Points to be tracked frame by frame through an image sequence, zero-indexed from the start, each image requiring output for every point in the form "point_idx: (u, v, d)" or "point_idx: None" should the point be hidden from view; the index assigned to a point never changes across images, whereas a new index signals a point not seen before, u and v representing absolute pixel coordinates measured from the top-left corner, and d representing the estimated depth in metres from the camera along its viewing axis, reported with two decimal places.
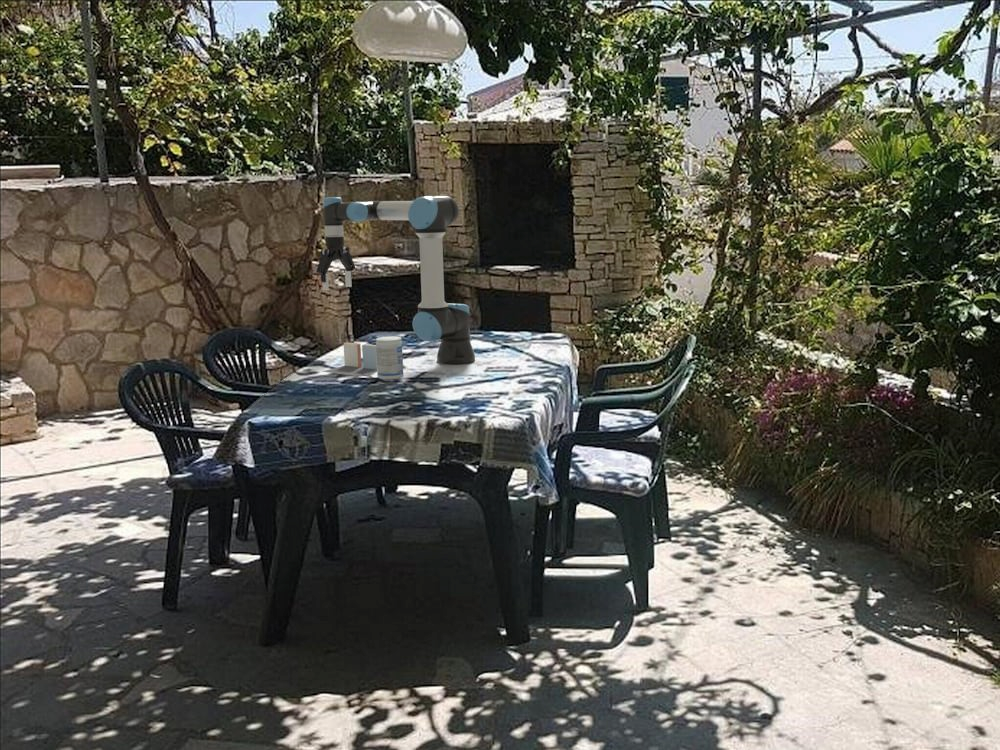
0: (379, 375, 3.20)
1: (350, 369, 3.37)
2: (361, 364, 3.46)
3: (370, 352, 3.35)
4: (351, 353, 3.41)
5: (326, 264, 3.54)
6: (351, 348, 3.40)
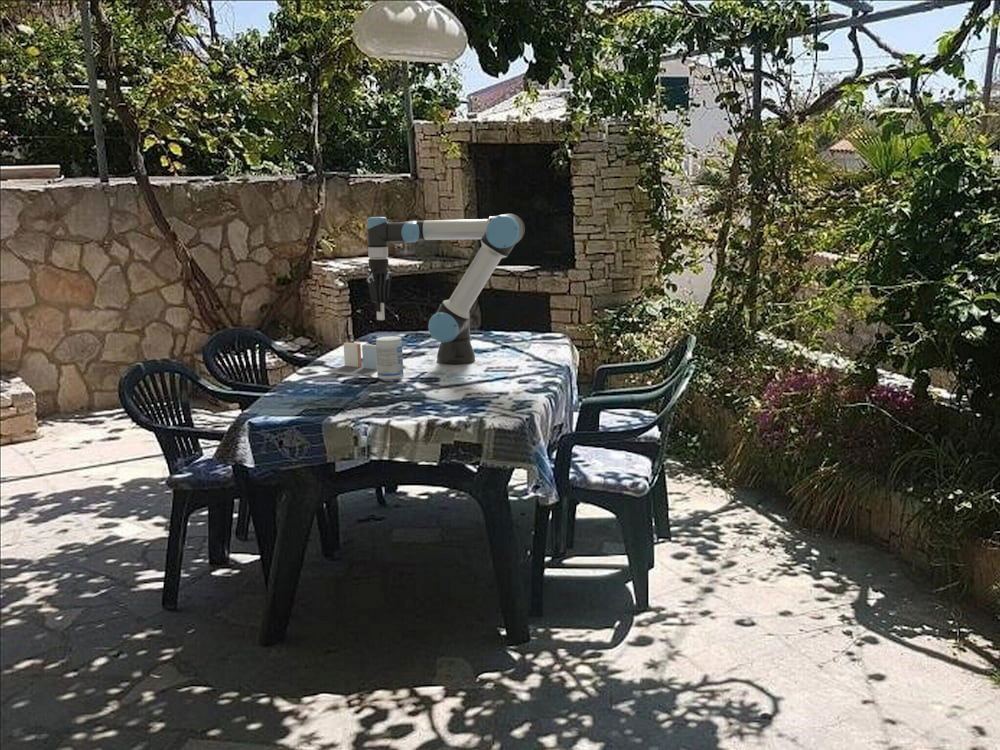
0: (379, 375, 3.20)
1: (350, 369, 3.37)
2: (361, 364, 3.46)
3: (370, 352, 3.35)
4: (351, 353, 3.41)
5: (377, 292, 3.36)
6: (351, 348, 3.40)
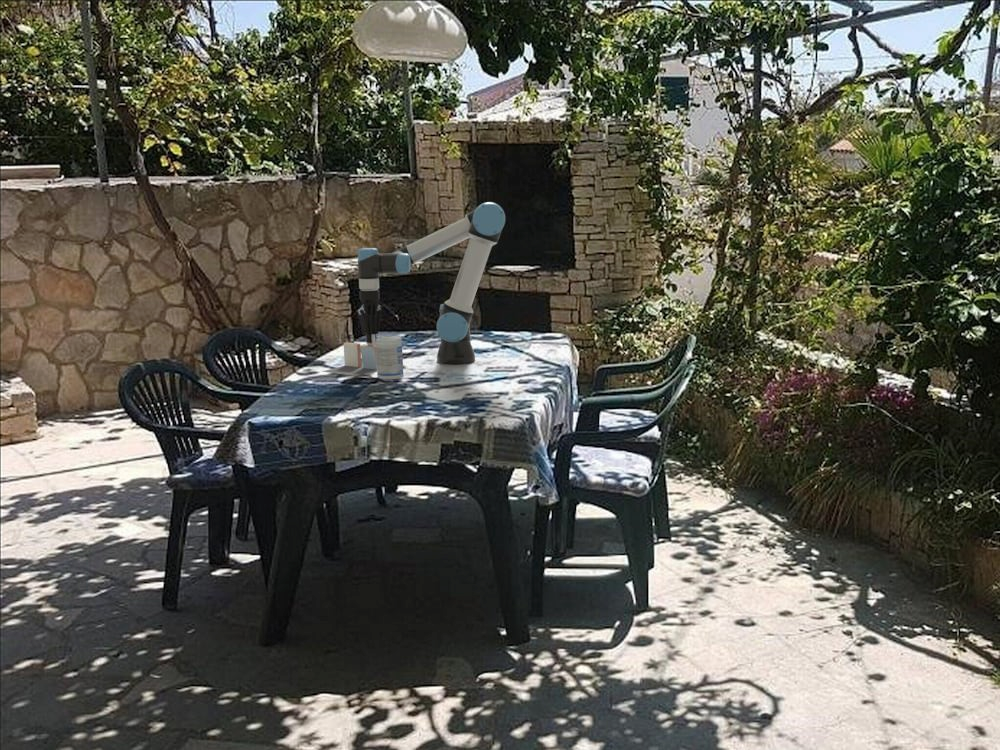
0: (379, 375, 3.20)
1: (350, 369, 3.37)
2: (361, 364, 3.46)
3: (369, 353, 3.34)
4: (351, 353, 3.41)
5: (368, 323, 3.33)
6: (351, 348, 3.40)
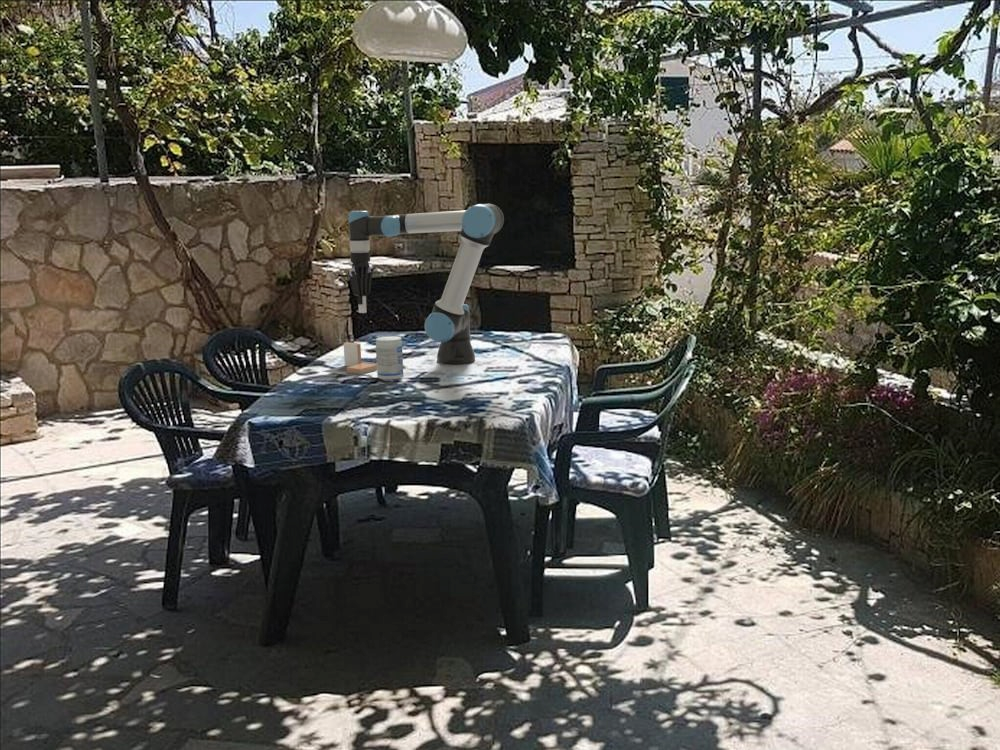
0: (379, 375, 3.20)
1: None
2: None
3: None
4: (351, 353, 3.41)
5: (359, 285, 3.39)
6: (351, 348, 3.40)
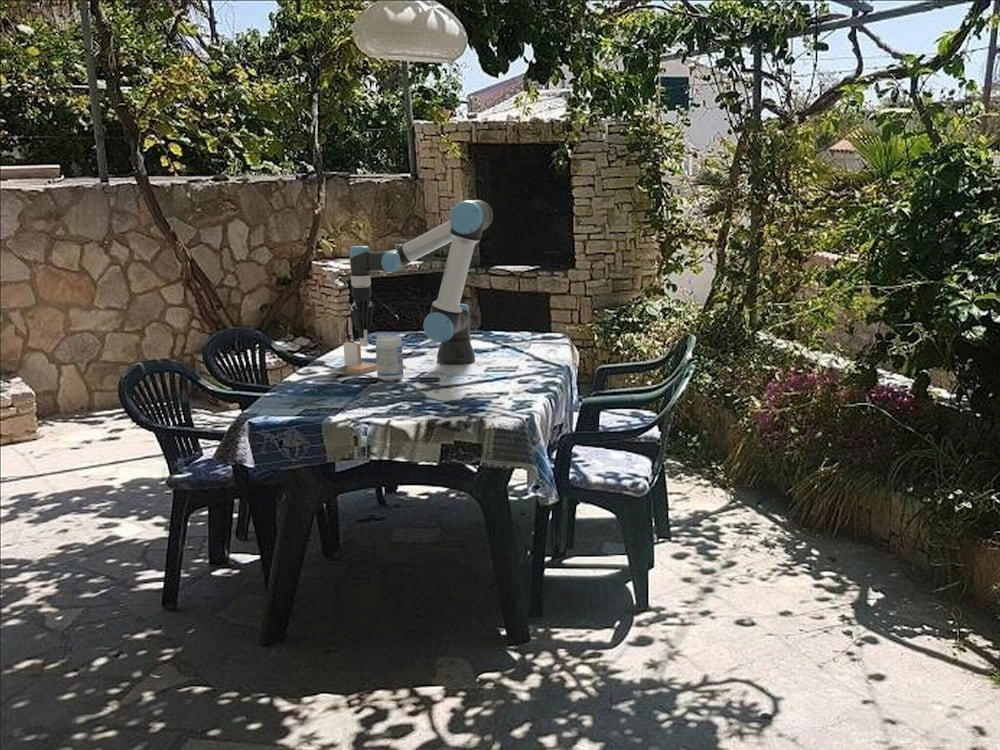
0: (379, 375, 3.20)
1: None
2: None
3: None
4: (351, 353, 3.41)
5: (360, 319, 3.43)
6: (351, 348, 3.40)
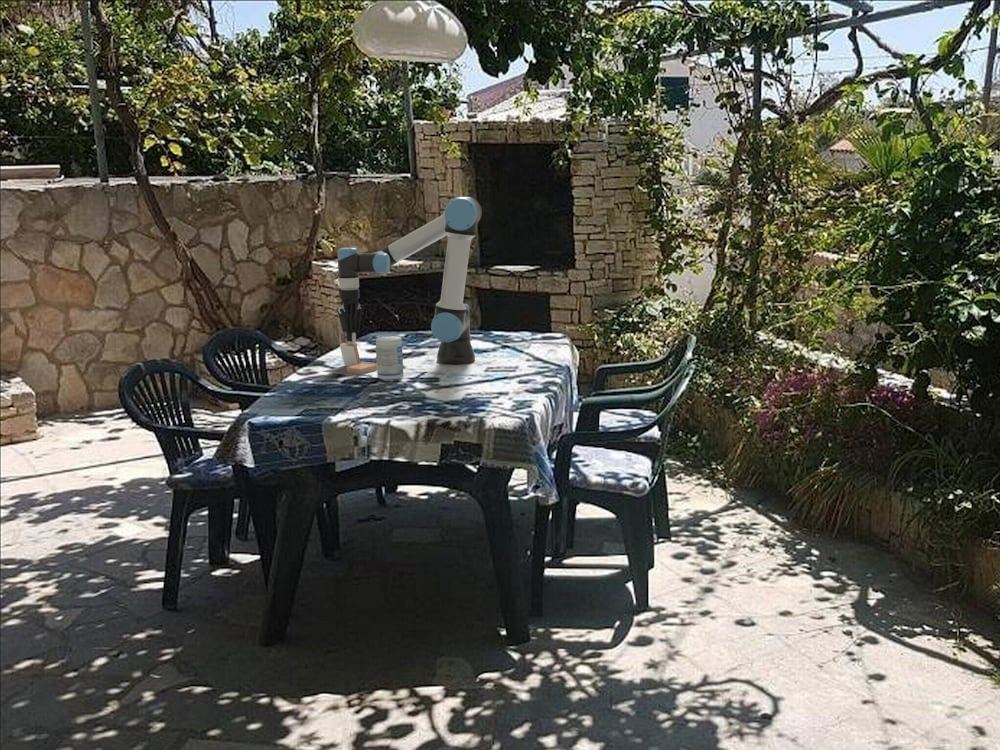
0: (379, 375, 3.20)
1: None
2: None
3: None
4: (349, 354, 3.40)
5: (348, 322, 3.38)
6: (348, 350, 3.39)
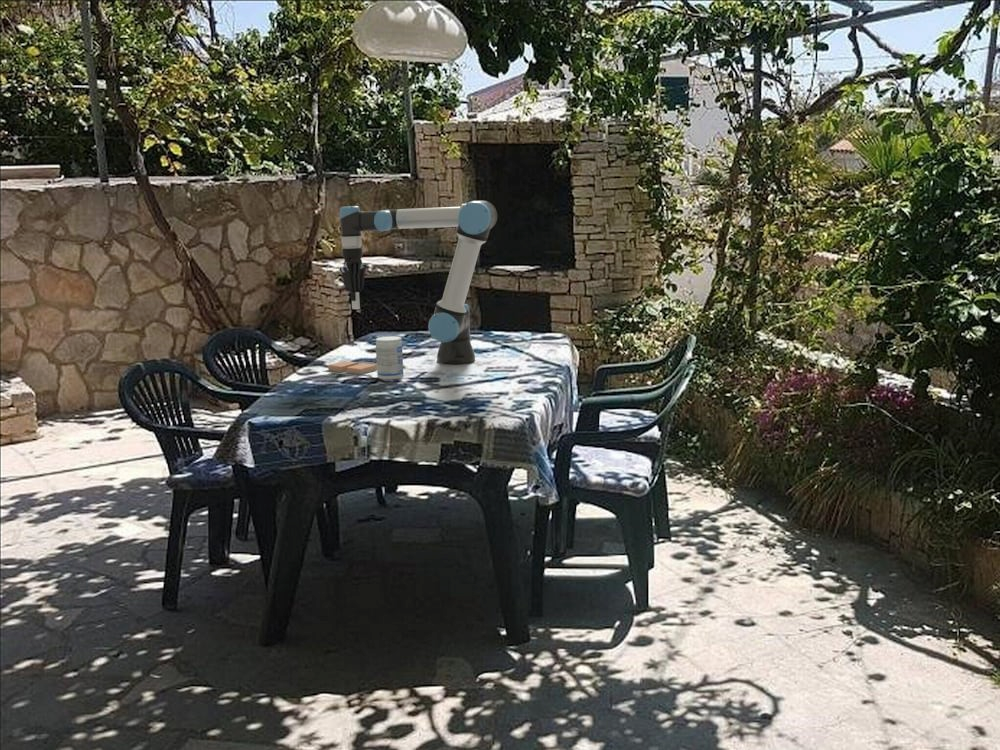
0: (379, 375, 3.20)
1: None
2: None
3: None
4: None
5: (351, 281, 3.36)
6: None
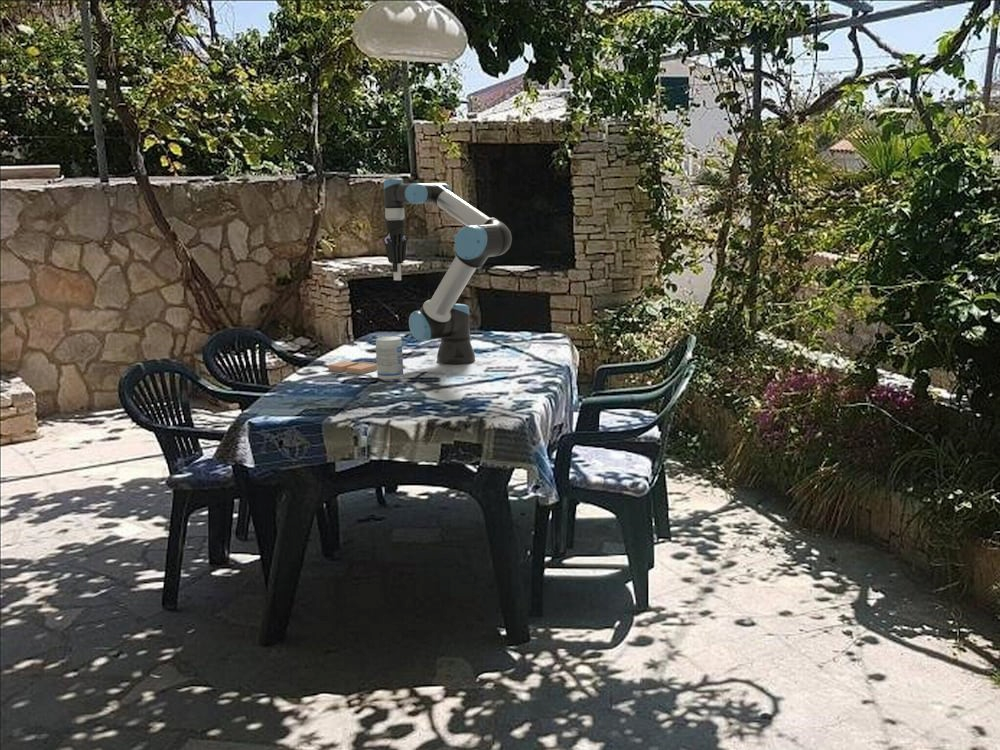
0: (379, 375, 3.20)
1: None
2: None
3: None
4: None
5: (394, 253, 3.43)
6: None
